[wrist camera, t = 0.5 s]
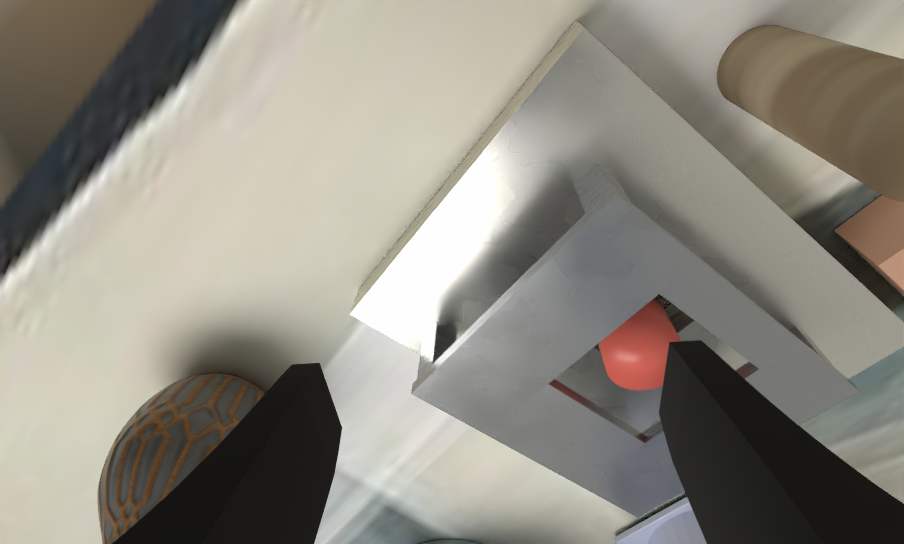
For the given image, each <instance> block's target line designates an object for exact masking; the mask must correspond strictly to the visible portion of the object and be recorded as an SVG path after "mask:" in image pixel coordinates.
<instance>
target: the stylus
mask: <svg viewBox="0 0 904 544" xmlns="http://www.w3.org/2000/svg"><path fill="white" fill-rule="evenodd" d="M717 82H718V87H719V89H720V91H721V93H722V95H723V96H724V97H725V98H726V99H727V100H729V101H730V102H732V103H734V104H735V105H737V106H738V107H740V108H742V109H743V110H745V111H747V112H748V113H750V114H751V115H753V116H755V117H756V118H758V119H760V120H761V121H763V122H764V123H766V124H768V125H769V126H771V127H773V128H774V129H776V130H777V131H779V132H781V133H782V134H784V135H786V136H787V137H789V138H790V139H792V140H794V141H795V142H797V143H799V144H800V145H802V146H803V147H805V148H807V149H808V150H810V151H812V152H813V153H815V154H816V155H818V156H820V157H821V158H823V159H825V160H826V161H828V162H829V163H831V164H833V165H834V166H836V167H838V168H839V169H841V170H842V171H844V172H846V173H847V174H849V175H851V176H852V177H854V178H855V179H857V180H859V181H860V182H862V183H864V184H865V185H867V186H868V187H870V188H872V189H873V190H875V191H877V192H878V193H880V194H882V195H883V196H885V197H887V198H889V199H892V200H895V201H900V202H904V59H900V58H896V57H893V56H889V55H885V54H881V53H878V52H874V51H870V50H866V49H863V48H859V47H855V46H851V45H848V44H844V43H840V42H836V41H833V40H829V39H825V38H821V37H818V36H814V35H810V34H806V33H803V32H799V31H795V30H791V29H788V28H784V27H780V26H776V25H764V26H759V27H756V28H753V29H751V30H749V31H747V32H745V33H743V34H742V35H741V36H739V37H738V38H737V39H736V40H735V41H734V42H733V43H732V44H731V45H730V46H729V47H728V49H727V50H726V51H725V53H724V55H723V56H722V59H721V61H720V64H719V67H718V72H717Z"/></svg>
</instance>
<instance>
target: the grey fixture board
mask: <svg viewBox="0 0 904 544" xmlns="http://www.w3.org/2000/svg"><path fill="white" fill-rule="evenodd" d="M659 294H660V295H661V296H663V297H664V298H665V299H667V300H668V301H669V302H671V304H670V305H669V306H668V307H666V308H665V311H666V313H667V315H668V317H669V319H670V321H671V323H672V324H673V326H674V328H675V330H676V332H677V334H678V336H679V338H680V340H681V341H696V340H702V341H703V342H704V343H705V344H706V345H707V346H708V347H710V348H711V349H712V350H713V351H714V352H715V353H716V354H717V355H719V356H720V357H721V358H722V359H723V360H724V361H725V362H726V363H727V364H729V365H730V366H731V367H732V368H733V369H734V370H735V371H736V372H737V373H739V374H740V375H741V376H742V377H743V378H744V379H745V380H746V381H747V382H749V383H750V384H751V385H752V386H753V387H754V388H755V389H756V390H758V391H759V392H760V393H761V394H762V395H763V396H764V397H766V398H767V399H768V400H769V401H770V402H771V403H772V404H774V405H775V406H776V407H777V408H778V409H780V410H781V411H782V412H783V413H784V414H786V415H787V416H788V417H789V418H790V419H792V420H793V421H794V422H795V423H796V424H797V425H799V426H800V425H802V424H803V423H805V422H807V421H809V420H810V419H812V418H814V417H816V416H817V415H819V414H821V413H823V412H825V411H826V410H828V409H830V408H832V407H833V406H835V405H837V404H839V403H840V402H842V401H844V400H846V399H847V398H849V397H851V396H853V395H855V394H856V393H858V392H860V391H859V390H858V389H857V387H856V386H855V385H854V384H853V383H852V382H851V381H850V380H849V378H851V377H852V376H854V375H856V374H858V373H859V372H861V371H863V370H864V369H866V368H868V367H870V366H871V365H873V364H875V363H876V362H878V361H880V360H882V359H883V358H885V357H887V356H888V355H890V354H892V353H894V352H895V351H897V350H899V349H900V348H902V347H904V322H903V321H902V320H900V319H899V318H898V317H897V316H896V315H895V314H894V313H893V312H892V311H891V310H890V309H889V308H887V307H886V306H885V305H884V304H883V303H882V302H881V301H880V300H879V299H878V298H877V297H876V296H875V295H873V294H872V293H871V292H870V291H869V290H868V289H867V288H866V287H865V286H864V285H863V284H862V283H860V282H859V281H858V280H857V279H856V278H855V277H854V276H853V275H852V274H851V273H850V272H849V271H847V270H846V269H845V268H844V267H843V266H842V265H841V264H840V263H839V262H838V261H837V260H836V259H835V258H833V257H832V256H831V255H830V254H829V253H828V252H827V251H826V250H825V249H824V248H823V247H822V246H820V245H819V244H818V243H817V242H816V241H815V240H814V239H813V238H812V237H811V236H810V235H809V234H807V233H806V232H805V231H804V230H803V229H802V228H801V227H800V226H799V225H798V224H797V223H796V222H795V221H793V220H792V219H791V218H790V217H789V216H788V215H787V214H786V213H785V212H784V211H783V210H782V209H780V208H779V207H778V206H777V205H776V204H775V203H774V202H773V201H772V200H771V199H770V198H769V197H767V196H766V195H765V194H764V193H763V192H762V191H761V190H760V189H759V188H758V187H757V186H756V185H755V184H753V183H752V182H751V181H750V180H749V179H748V178H747V177H746V176H745V175H744V174H743V173H742V172H740V171H739V170H738V169H737V168H736V167H735V166H734V165H733V164H732V163H731V162H730V161H729V160H727V159H726V158H725V157H724V156H723V155H722V154H721V153H720V152H719V151H718V150H717V149H716V148H715V147H713V146H712V145H711V144H710V143H709V142H708V141H707V140H706V139H705V138H704V137H703V136H702V135H700V134H699V133H698V132H697V131H696V130H695V129H694V128H693V127H692V126H691V125H690V124H689V123H687V122H686V121H685V120H684V119H683V118H682V117H681V116H680V115H679V114H678V113H677V112H676V111H675V110H673V109H672V108H671V107H670V106H669V105H668V104H667V103H666V102H665V101H664V100H663V99H662V98H660V97H659V96H658V95H657V94H656V93H655V92H654V91H653V90H652V89H651V88H650V87H649V86H647V85H646V84H645V83H644V82H643V81H642V80H641V79H640V78H639V77H638V76H637V75H636V74H635V73H633V72H632V71H631V70H630V69H629V68H628V67H627V66H626V65H625V64H624V63H623V62H622V61H620V60H619V59H618V58H617V57H616V56H615V55H614V54H613V53H612V52H611V51H610V50H609V49H607V48H606V47H605V46H604V45H603V44H602V43H601V42H600V41H599V40H598V39H597V38H596V37H595V36H593V35H592V34H591V33H590V32H589V31H588V30H587V29H586V28H585V27H583V26H582V25H581V24H580V23H578V22H577V21H576V20H575V21H574V23H573V24H572V25H571V26H570V28H569V29H568V30H567V31H566V33H565V34H564V35H563V36H562V38H561V39H560V40H559V41H558V43H557V44H556V45H555V46H554V48H553V49H552V50H551V51H550V53H549V54H548V55H547V56H546V58H545V59H544V60H543V61H542V63H541V64H540V65H539V66H538V68H537V69H536V70H535V71H534V73H533V74H532V75H531V76H530V78H529V79H528V80H527V81H526V83H525V84H524V85H523V86H522V87H521V89H520V90H519V91H518V92H517V94H516V95H515V96H514V97H513V99H512V100H511V101H510V102H509V104H508V105H507V106H506V107H505V109H504V110H503V111H502V112H501V114H500V115H499V116H498V117H497V119H496V120H495V121H494V122H493V124H492V125H491V126H490V127H489V129H488V130H487V131H486V132H485V134H484V135H483V136H482V137H481V139H480V140H479V141H478V142H477V144H476V145H475V146H474V147H473V149H472V150H471V151H470V152H469V153H468V155H467V156H466V157H465V158H464V160H463V161H462V162H461V163H460V165H459V166H458V167H457V168H456V170H455V171H454V172H453V173H452V175H451V176H450V177H449V178H448V180H447V181H446V182H445V183H444V185H443V186H442V187H441V188H440V190H439V191H438V192H437V193H436V195H435V196H434V197H433V198H432V200H431V201H430V202H429V203H428V205H427V206H426V207H425V208H424V210H423V211H422V212H421V213H420V215H419V216H418V217H417V218H416V220H415V221H414V222H413V223H412V224H411V226H410V227H409V228H408V229H407V231H406V232H405V233H404V234H403V236H402V237H401V238H400V239H399V241H398V242H397V243H396V244H395V246H394V247H393V248H392V249H391V251H390V252H389V253H388V254H387V256H386V257H385V258H384V259H383V261H382V262H381V263H380V264H379V266H378V267H377V268H376V269H375V271H374V272H373V273H372V274H371V276H370V277H369V278H368V279H367V281H366V282H365V283H364V284H363V286H362V287H361V288H360V289H359V290H358V292H357V295H356V298H355V301H354V304H353V307H352V310H351V313H350V315H352V316H354V317H356V318H357V319H359V320H361V321H363V322H364V323H366V324H368V325H369V326H371V327H373V328H375V329H376V330H378V331H380V332H382V333H383V334H385V335H387V336H389V337H390V338H392V339H394V340H395V341H397V342H399V343H401V344H402V345H404V346H406V347H408V348H409V349H411V350H413V351H414V352H416V353H418V354H420V362H419V369H418V376H417V380H416V381H415V382H414V383H413V385H412V392H411V394H413V395H415V396H417V397H418V398H420V399H422V400H424V401H426V402H428V403H429V404H431V405H433V406H435V407H437V408H439V409H440V410H442V411H444V412H446V413H448V414H450V415H451V416H453V417H455V418H457V419H459V420H460V421H462V422H464V423H466V424H468V425H470V426H471V427H473V428H475V429H477V430H479V431H481V432H482V433H484V434H486V435H488V436H490V437H492V438H493V439H495V440H497V441H499V442H501V443H503V444H504V445H506V446H508V447H510V448H512V449H514V450H515V451H517V452H519V453H521V454H523V455H525V456H526V457H528V458H530V459H532V460H534V461H536V462H537V463H539V464H541V465H543V466H545V467H547V468H548V469H550V470H552V471H554V472H556V473H558V474H559V475H561V476H563V477H565V478H567V479H568V480H570V481H572V482H574V483H576V484H578V485H579V486H581V487H583V488H585V489H587V490H589V491H590V492H592V493H594V494H596V495H598V496H600V497H601V498H603V499H605V500H607V501H609V502H611V503H612V504H614V505H616V506H618V507H620V508H622V509H623V510H625V511H627V512H629V513H631V514H633V515H634V516H636V517H639V516H641V515H643V514H645V513H646V512H648V511H650V510H652V509H653V508H655V507H657V506H659V505H660V504H662V503H664V502H666V501H668V500H669V499H671V498H673V497H675V496H676V495H678V494H680V493H682V492H683V491H684V488H683V486H682V484H681V481H680V479H679V476H678V474H677V471H676V469H675V466H674V464H673V462H672V458H671V455H670V452H669V448H668V445H667V441H666V438H665V434H664V431H663V427H662V423H661V420H660V416H659V408H660V401H661V394H662V388H663V386H661V387H658V388H654V389H650V390H629V389H626V388H623V387H620V386H618V385H617V384H615V383H614V382H613V381H612V380H611V379H610V378H609V376H608V374H607V372H606V368H605V365H604V362H603V359H602V355H601V352H600V349H599V345H598V343H599V342H601V341H602V340H603V339H604V338H606V337H607V336H608V335H609V334H611V333H612V332H613V331H614V330H616V329H617V328H618V327H619V326H620V325H622V324H623V323H624V322H625V321H627V320H628V319H629V318H630V317H632V316H633V315H634V314H635V313H636V312H638V311H639V310H640V309H641V308H643V307H644V306H645V305H646V304H648V303H649V302H650V301H651V300H653V299H654V298H655V297H656V296H657V295H659Z"/></svg>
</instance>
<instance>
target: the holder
mask: <svg viewBox="0 0 904 544" xmlns="http://www.w3.org/2000/svg"><path fill="white" fill-rule="evenodd" d="M834 231H835V232H836V233H837V234H838V235H839V236H840V237H841V238H842V239H843V240H844V241H845V242H847V243H848V244H849V245H850V246H851V247H852V248H853V249H854V250H855V251H856V252H857V253H858V254H859V255H860V256H861V257H862V258H863V259H864V260H865V261H866V262H868V263H869V264H870V265H871V266H872V267H873V268H874V269H875V270H876V271H877V272H878V273H879V274H880V275H881V276H882V277H883V278H884V279H885V280H886V281H887V282H888V283H890V284H891V285H892V286H893V287H894V288H895V289H896V290H897V291H898V292H899V293H900V294H901V295H902V296H903V297H904V202H900V201H895V200H892V199H889V198H887V197H885V196H883V195H881V196H880V197H878V198H877V199H876V200H874V201H873V202H872V203H870V204H869V205H867V206H866V207H865V208H863V209H862V210H861V211H859V212H858V213H857V214H855V215H854V216H853V217H851V218H850V219H848V220H847V221H846V222H844V223H843V224H842V225H840V226H839V227H838V228H836V229H835V230H834Z"/></svg>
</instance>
